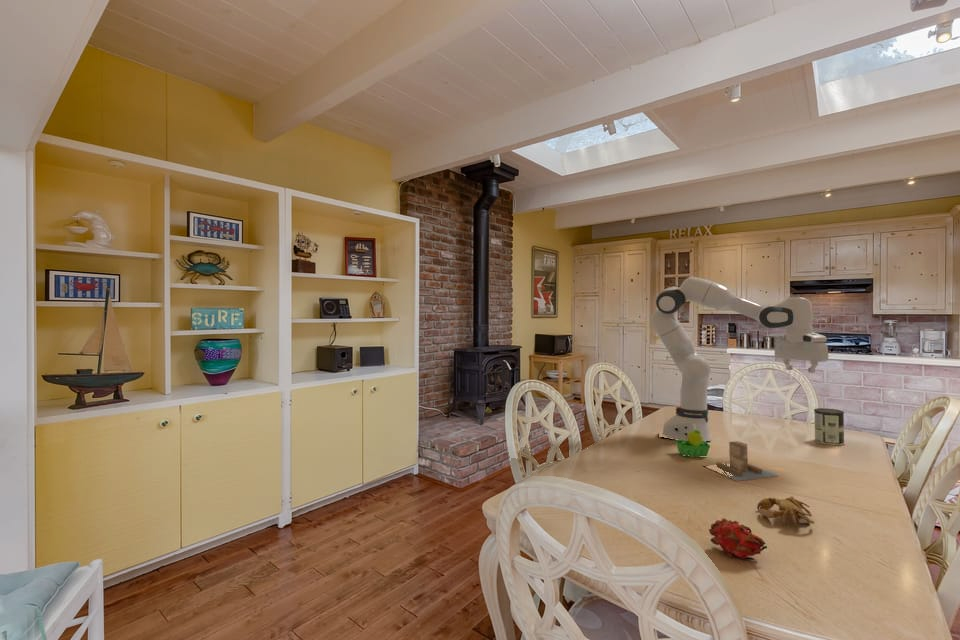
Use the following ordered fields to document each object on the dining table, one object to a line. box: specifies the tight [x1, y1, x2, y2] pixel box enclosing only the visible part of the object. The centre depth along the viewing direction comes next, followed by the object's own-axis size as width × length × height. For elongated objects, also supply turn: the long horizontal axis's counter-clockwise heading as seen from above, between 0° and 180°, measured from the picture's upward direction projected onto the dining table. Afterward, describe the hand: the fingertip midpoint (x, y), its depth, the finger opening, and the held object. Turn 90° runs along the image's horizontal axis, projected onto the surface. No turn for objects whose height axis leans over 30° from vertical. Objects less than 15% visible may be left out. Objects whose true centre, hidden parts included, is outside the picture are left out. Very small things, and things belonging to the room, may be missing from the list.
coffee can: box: [813, 407, 845, 446], centre depth 190 cm, size 10×10×14 cm
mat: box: [715, 462, 779, 482], centre depth 157 cm, size 18×16×2 cm
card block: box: [728, 440, 749, 472], centre depth 157 cm, size 4×4×10 cm
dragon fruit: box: [708, 517, 768, 561], centre depth 102 cm, size 8×8×12 cm
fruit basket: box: [675, 430, 711, 457], centre depth 175 cm, size 11×9×11 cm
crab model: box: [756, 495, 815, 528], centre depth 120 cm, size 16×13×6 cm
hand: (800, 371), depth 172 cm, fingers open, 8 cm apart
